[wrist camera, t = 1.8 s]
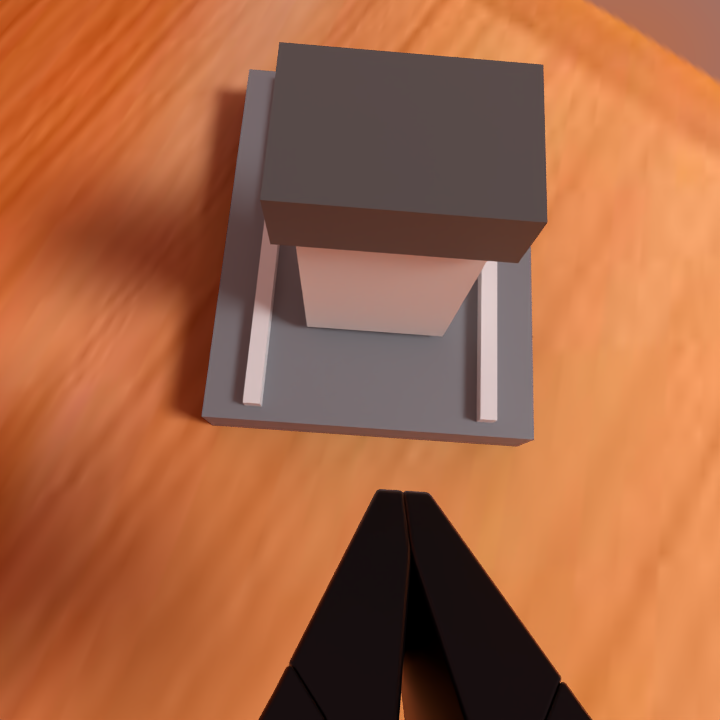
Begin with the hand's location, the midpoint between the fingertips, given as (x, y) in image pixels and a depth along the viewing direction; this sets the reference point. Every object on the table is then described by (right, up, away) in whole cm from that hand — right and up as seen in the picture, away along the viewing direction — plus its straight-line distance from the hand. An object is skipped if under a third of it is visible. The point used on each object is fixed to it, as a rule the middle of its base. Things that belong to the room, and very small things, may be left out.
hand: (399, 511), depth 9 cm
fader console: (0, +7, +16) cm, 17 cm away
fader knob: (0, +5, +13) cm, 14 cm away
